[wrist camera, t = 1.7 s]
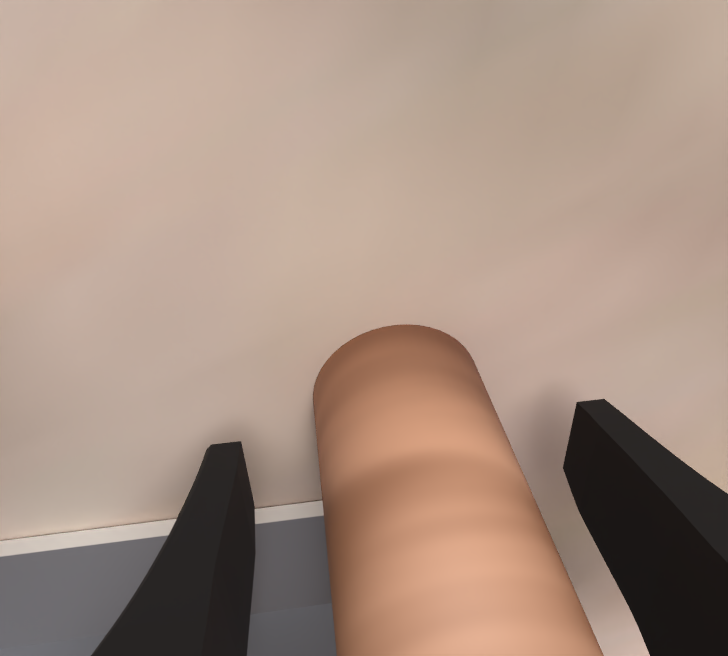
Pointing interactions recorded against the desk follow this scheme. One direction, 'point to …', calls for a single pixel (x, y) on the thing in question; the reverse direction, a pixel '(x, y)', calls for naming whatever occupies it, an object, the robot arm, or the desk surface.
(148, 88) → the desk surface
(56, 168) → the desk surface
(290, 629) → the board
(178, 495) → the desk surface
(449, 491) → the peg
